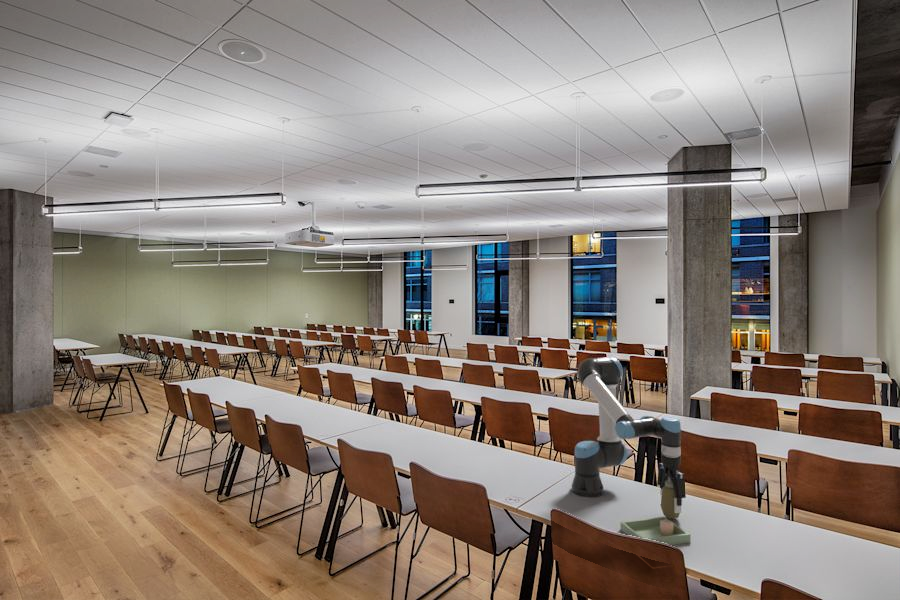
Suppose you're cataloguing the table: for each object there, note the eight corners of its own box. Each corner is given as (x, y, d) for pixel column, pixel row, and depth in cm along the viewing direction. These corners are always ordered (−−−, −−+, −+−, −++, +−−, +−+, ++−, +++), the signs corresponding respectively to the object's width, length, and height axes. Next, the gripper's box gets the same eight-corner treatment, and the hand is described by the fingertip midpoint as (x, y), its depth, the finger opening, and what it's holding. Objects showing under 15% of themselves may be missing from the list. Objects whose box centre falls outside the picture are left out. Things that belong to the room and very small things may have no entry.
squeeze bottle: (669, 521, 205) (669, 478, 204) (656, 512, 212) (656, 471, 212) (685, 518, 207) (685, 476, 206) (672, 510, 215) (672, 469, 214)
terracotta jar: (657, 531, 198) (657, 520, 198) (668, 530, 199) (668, 519, 199) (665, 537, 193) (664, 525, 193) (676, 536, 194) (676, 524, 194)
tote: (620, 530, 201) (620, 521, 201) (664, 524, 205) (663, 516, 205) (644, 549, 185) (643, 540, 185) (690, 543, 189) (690, 534, 189)
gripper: (648, 448, 218) (648, 498, 219) (679, 464, 198) (679, 520, 199) (663, 446, 220) (663, 497, 220) (695, 462, 200) (695, 518, 200)
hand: (670, 508), depth 210 cm, fingers closed on squeeze bottle, 8 cm apart
